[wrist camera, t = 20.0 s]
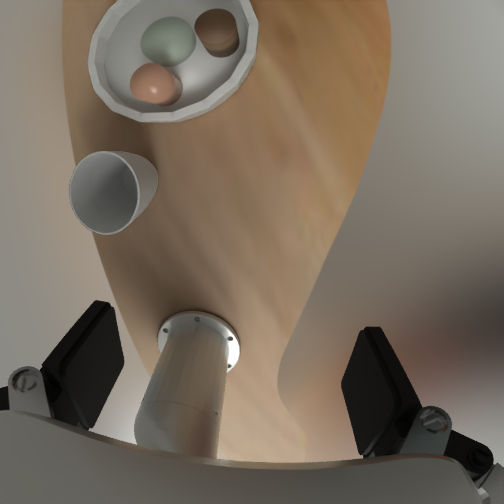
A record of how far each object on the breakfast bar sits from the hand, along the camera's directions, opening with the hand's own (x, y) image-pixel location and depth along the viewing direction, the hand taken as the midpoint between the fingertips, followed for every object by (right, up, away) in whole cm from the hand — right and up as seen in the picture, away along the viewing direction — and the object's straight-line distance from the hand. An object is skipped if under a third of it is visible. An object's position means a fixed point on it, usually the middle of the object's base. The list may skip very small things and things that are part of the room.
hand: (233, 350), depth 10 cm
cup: (-13, +13, +24) cm, 30 cm away
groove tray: (-9, +28, +18) cm, 34 cm away
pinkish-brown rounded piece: (-9, +22, +19) cm, 30 cm away
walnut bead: (-3, +27, +17) cm, 32 cm away
